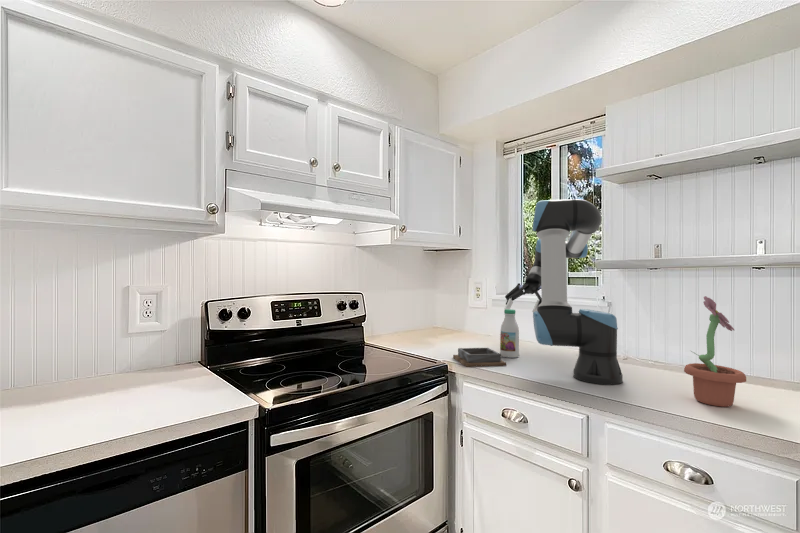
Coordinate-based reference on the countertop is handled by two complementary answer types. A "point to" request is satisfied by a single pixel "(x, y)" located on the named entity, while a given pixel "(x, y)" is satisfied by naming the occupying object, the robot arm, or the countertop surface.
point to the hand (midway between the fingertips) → (519, 312)
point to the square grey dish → (478, 357)
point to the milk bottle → (509, 335)
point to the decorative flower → (714, 368)
